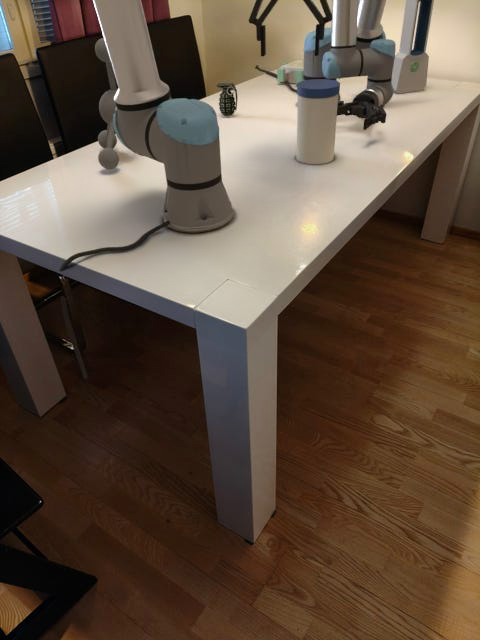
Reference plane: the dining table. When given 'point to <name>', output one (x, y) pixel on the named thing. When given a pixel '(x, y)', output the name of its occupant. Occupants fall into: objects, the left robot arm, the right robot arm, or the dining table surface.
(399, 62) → the electronic device
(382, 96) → the right robot arm
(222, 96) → the grenade
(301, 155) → the jar
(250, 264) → the dining table surface
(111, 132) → the molecular model
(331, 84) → the lid
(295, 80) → the decorative block
